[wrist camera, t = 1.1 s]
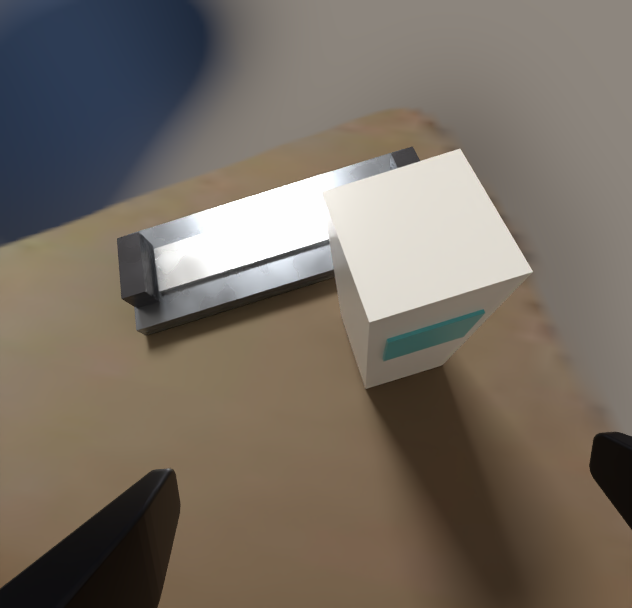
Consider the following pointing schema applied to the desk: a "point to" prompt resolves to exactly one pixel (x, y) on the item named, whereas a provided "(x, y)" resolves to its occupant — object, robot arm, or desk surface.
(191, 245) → the mounting plate
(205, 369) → the desk surface
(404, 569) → the desk surface
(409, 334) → the block
